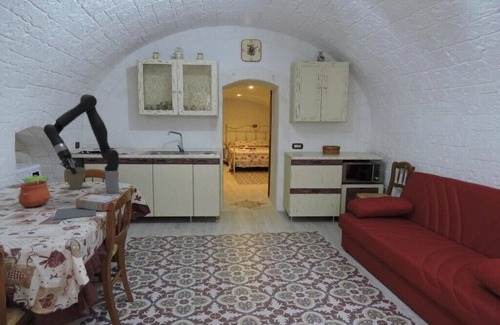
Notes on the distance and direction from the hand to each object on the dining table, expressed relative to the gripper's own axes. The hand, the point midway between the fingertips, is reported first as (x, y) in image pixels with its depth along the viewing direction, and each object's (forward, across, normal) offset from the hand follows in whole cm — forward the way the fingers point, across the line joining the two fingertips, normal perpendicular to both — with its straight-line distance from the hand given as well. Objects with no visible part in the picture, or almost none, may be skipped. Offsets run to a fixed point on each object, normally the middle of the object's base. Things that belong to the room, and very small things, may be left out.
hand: (75, 173), depth 214 cm
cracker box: (+18, -2, +3) cm, 19 cm away
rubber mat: (+26, -15, +1) cm, 30 cm away
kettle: (-22, +30, +62) cm, 72 cm away
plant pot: (-6, +40, +38) cm, 55 cm away
